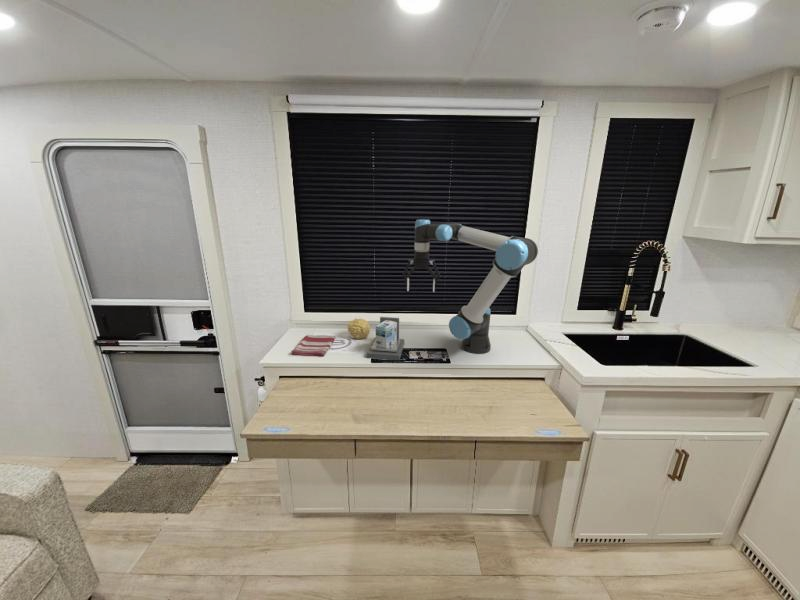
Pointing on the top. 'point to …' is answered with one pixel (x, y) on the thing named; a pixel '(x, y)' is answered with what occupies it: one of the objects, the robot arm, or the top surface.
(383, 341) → the light bulb box
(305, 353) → the dish towel
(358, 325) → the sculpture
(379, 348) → the pan
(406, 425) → the top surface
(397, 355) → the scale base
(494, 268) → the robot arm
